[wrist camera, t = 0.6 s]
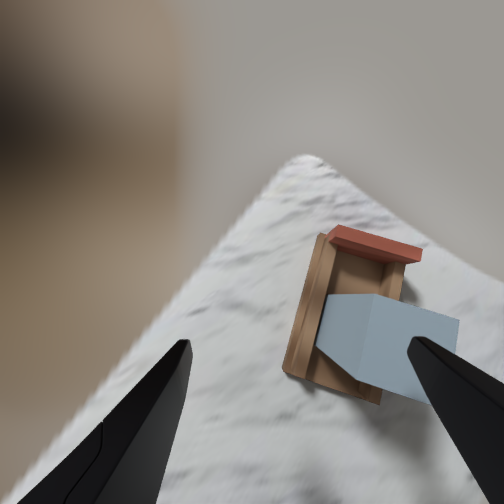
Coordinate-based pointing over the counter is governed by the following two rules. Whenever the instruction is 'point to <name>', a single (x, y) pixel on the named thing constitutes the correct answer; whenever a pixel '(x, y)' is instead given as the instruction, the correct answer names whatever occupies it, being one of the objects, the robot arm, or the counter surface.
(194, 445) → the counter surface
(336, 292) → the key housing
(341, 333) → the slate key
